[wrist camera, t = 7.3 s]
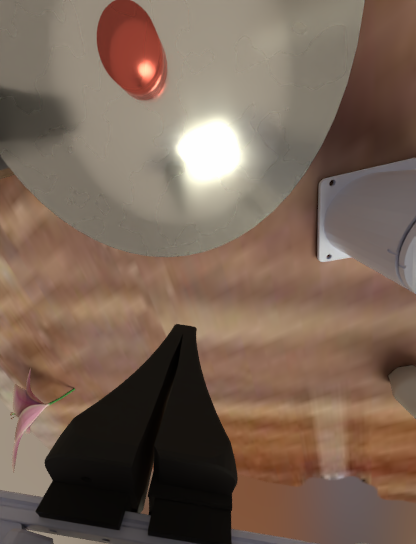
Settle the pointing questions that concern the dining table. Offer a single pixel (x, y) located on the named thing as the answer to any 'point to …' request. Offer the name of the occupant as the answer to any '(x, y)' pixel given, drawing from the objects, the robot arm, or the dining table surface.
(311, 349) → the dining table surface
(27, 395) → the lily
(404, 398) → the beige pestle
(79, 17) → the cooker lid
